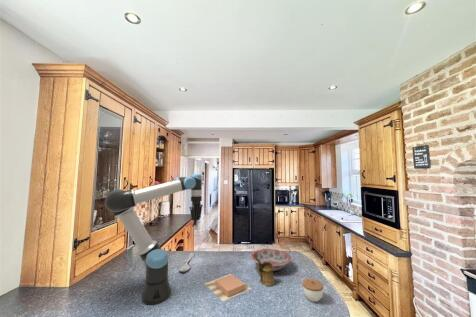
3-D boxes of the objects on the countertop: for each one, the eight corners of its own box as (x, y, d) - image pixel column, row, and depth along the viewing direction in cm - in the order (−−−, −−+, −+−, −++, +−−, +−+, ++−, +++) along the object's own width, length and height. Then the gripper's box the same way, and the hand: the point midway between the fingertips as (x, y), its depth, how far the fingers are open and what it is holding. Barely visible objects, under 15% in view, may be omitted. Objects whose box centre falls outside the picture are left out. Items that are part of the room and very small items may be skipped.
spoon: (187, 274, 134) (188, 270, 134) (176, 274, 133) (176, 270, 134) (196, 256, 168) (196, 252, 169) (187, 256, 168) (187, 252, 168)
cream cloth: (204, 284, 120) (204, 283, 120) (230, 274, 132) (230, 273, 132) (223, 303, 103) (223, 301, 103) (251, 289, 115) (251, 288, 115)
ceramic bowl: (290, 280, 124) (289, 267, 125) (246, 274, 133) (245, 261, 134) (292, 261, 151) (292, 251, 152) (256, 257, 161) (255, 247, 161)
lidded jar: (321, 294, 110) (320, 276, 111) (325, 306, 99) (325, 287, 100) (301, 291, 112) (301, 274, 113) (303, 303, 102) (303, 284, 103)
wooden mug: (251, 280, 125) (251, 251, 127) (272, 278, 127) (271, 249, 129) (254, 287, 116) (254, 256, 118) (276, 286, 118) (275, 255, 120)
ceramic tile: (215, 280, 118) (228, 291, 106) (231, 274, 125) (245, 283, 114) (215, 286, 117) (228, 297, 106) (231, 279, 124) (245, 289, 113)
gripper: (197, 194, 147) (197, 226, 145) (186, 196, 135) (185, 231, 133) (205, 195, 144) (205, 227, 142) (195, 196, 132) (194, 232, 130)
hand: (196, 229), depth 137 cm, fingers closed
